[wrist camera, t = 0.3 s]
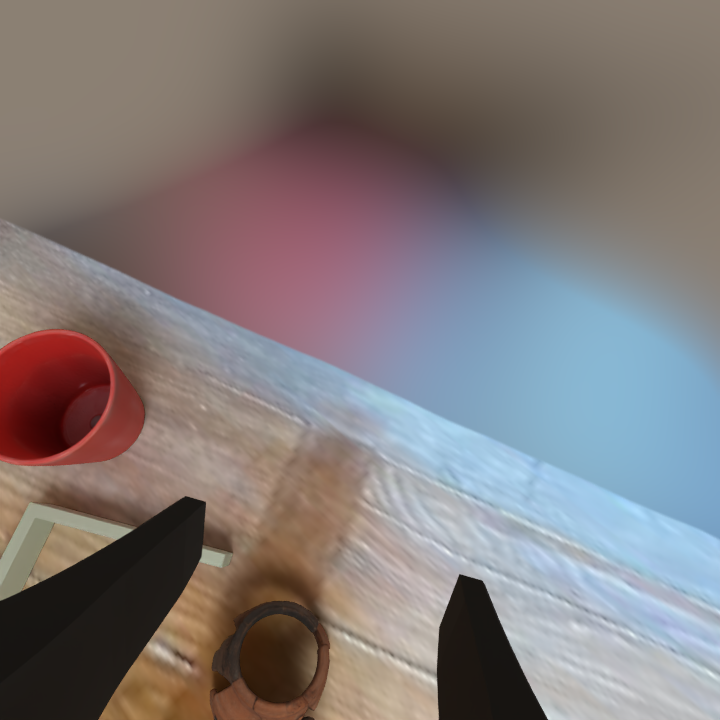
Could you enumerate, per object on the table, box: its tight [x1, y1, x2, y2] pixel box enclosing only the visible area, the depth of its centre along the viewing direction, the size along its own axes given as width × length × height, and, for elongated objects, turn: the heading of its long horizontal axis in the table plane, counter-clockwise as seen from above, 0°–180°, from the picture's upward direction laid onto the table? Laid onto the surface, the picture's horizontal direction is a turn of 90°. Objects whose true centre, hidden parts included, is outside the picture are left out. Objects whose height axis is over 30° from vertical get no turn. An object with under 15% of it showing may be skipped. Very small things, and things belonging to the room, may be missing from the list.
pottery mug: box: [210, 601, 330, 720], centre depth 33 cm, size 12×10×8 cm
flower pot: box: [0, 329, 145, 466], centre depth 37 cm, size 11×11×10 cm
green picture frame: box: [0, 502, 233, 601], centre depth 34 cm, size 16×17×3 cm
